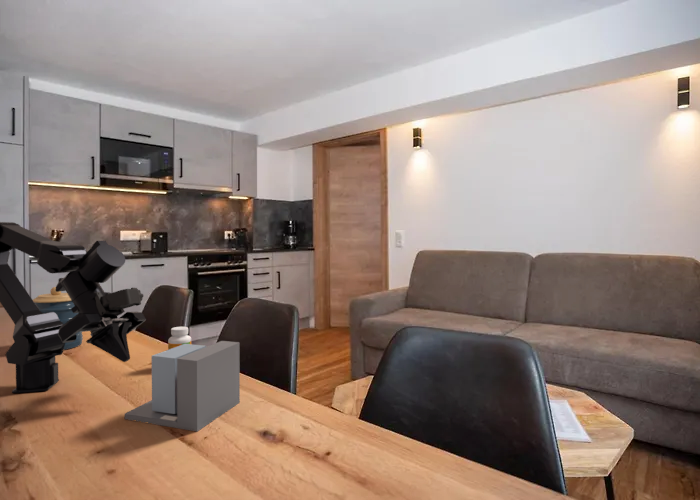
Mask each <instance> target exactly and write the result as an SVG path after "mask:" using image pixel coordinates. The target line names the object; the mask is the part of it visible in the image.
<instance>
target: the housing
mask: <svg viewBox="0 0 700 500" xmlns="http://www.w3.org/2000/svg"><path fill="white" fill-rule="evenodd" d="M240 350H241V349H240V342H239V341H228V340H220V341H218V342H215V343H213V344H210V345H208V346H206V347H205V348H203V349H200V350H198V351H195V352H193V353H190V354H188V355H185V356H183V357H180V358H178V359H177V413H176V414H170V413H164V412H158V411H152V399H150V401H147V402H145V403H142V404H141V405H139V406H137V407H135V408H133V409H131V410H128V411H127V412H124V420H127V419H128V421H133V420H136V421H135V422H139V421H141V422H140V423H145V422H148V423H147V424H150V423H152V425H157V426H161V427H169V428H175V429H180V430H186V431H193V432H199V431H200V430H202V429H203V428H205V427H206V426H207V425H209V424H210V423H212V422H214V421H215V420H216V419H218V418H219V417H221V416H222V415H224V414H225V413H227V412H229V410H231V409H233V408H234V407H235V406H237V405H238V404H240V402H241V401H240V400H241V399H240V396H241V395H240V393H241V391H240V388H241V387H240V386H241V384H240V383H241V381H240V367H241V365H240Z"/></svg>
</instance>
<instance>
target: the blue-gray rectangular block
mask: <svg viewBox="0 0 700 500" xmlns="http://www.w3.org/2000/svg"><path fill="white" fill-rule="evenodd" d="M205 347H207V345H204V344H203V345H202V344H201V345H200V344H193V343H191V344H183V345H180V346H177V347H175V348H172V349H169V350H168V349H167V350H165V351H161V352H159V353H155V354H153V355H151V400H152V411H158V412H164V413H170V414H176V413H177V359H178V358H180V357H183V356H185V355H188V354H190V353H193V352H195V351H198V350H200V349H203V348H205Z"/></svg>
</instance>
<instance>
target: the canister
mask: <svg viewBox="0 0 700 500" xmlns="http://www.w3.org/2000/svg"><path fill="white" fill-rule="evenodd" d="M32 300H33V301H34V303H35V304H36V306H37V307H38V309H39V310H40V311H41V312H43V313H49V312H54V313H56V314H57V316H58V318H59V320H60V321H61V322H62V323H63V324H65V323H66V322H68V321H69V320H70V319H72V318H73V317H74V316H76V315H77V314H78V313H73V312H72V310H71V308H73V307H74V306H75V305H74V304H73V302H72V300H71V299H70V297H69V295H68V294H67V292H62V291H60V292H56V286H53V287H51V289H50V293H43V294H39V295H37V297H34V298H32ZM76 336H77V337H76V340H75V341H74V342H67V343H65V346H64V350H63V351H65V350H70V349H73V348H76V347H79V346H80V345H82V344H83V339H84V338H83V337H84V336H83V332H78V333H76Z"/></svg>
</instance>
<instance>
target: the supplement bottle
mask: <svg viewBox="0 0 700 500" xmlns="http://www.w3.org/2000/svg"><path fill="white" fill-rule="evenodd" d="M170 334H171V336H170V337H169V338H168V340H167V343H168V345H167V346H168V347H167V348H168V349H167V350H169V349H172V348H175V347H177V346H180V345H183V344H192V337H191V336H190V335H188V334H189V327H188V326H176V327H175V326H174V327H172V328H171V329H170Z"/></svg>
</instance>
